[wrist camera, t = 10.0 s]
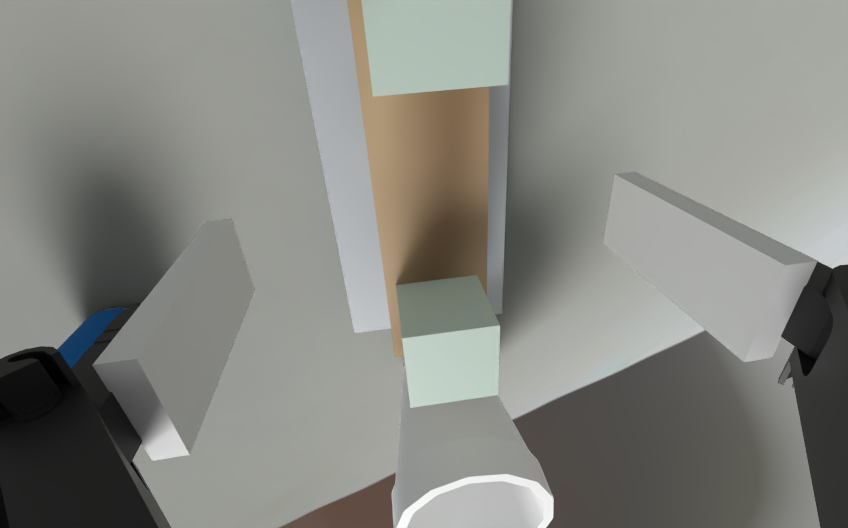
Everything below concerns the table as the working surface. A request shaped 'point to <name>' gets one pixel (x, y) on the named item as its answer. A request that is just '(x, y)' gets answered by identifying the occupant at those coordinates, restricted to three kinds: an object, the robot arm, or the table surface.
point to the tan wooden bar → (425, 179)
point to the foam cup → (466, 468)
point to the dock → (349, 166)
